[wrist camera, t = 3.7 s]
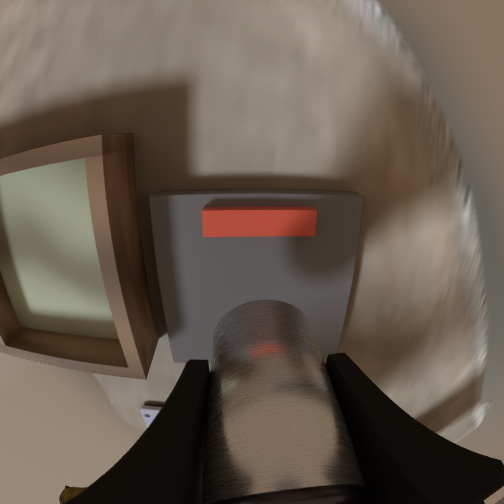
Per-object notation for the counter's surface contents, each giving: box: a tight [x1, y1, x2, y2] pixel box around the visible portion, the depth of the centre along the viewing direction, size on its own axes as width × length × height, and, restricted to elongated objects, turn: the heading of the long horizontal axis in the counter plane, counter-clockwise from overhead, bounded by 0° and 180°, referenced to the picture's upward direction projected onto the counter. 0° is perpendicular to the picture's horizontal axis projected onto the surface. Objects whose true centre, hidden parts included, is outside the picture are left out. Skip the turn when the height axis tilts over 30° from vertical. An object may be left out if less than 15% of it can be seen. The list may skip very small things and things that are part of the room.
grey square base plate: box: [149, 189, 364, 363], centre depth 15 cm, size 10×10×2 cm
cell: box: [202, 300, 371, 504], centre depth 7 cm, size 4×4×8 cm
